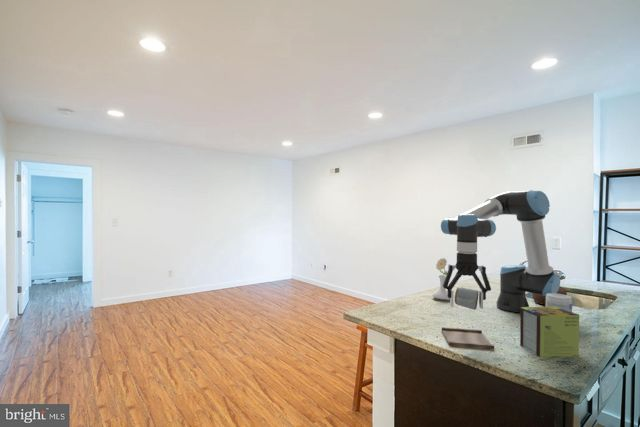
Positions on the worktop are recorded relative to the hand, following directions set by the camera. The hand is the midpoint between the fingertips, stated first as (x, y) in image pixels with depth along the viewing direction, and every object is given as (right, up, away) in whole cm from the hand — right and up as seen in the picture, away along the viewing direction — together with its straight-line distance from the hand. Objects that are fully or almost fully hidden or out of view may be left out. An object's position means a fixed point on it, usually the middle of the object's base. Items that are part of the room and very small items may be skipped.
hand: (466, 306), depth 128 cm
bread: (+79, -14, +62) cm, 102 cm away
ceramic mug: (-3, 0, 0) cm, 4 cm away
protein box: (+27, -14, -9) cm, 32 cm away
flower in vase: (+14, -14, +61) cm, 64 cm away
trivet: (0, -14, 0) cm, 14 cm away
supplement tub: (+49, -14, +15) cm, 53 cm away
